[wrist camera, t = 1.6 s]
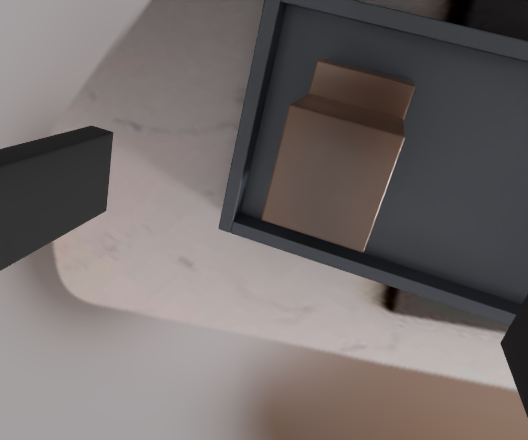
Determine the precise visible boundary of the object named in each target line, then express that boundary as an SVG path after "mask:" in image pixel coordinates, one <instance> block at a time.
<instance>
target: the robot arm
mask: <svg viewBox="0 0 528 440" xmlns="http://www.w3.org/2000/svg"><path fill="white" fill-rule="evenodd" d="M112 140H113V132H111V131H107V130H104V129H101V128H98V127H94V126H89V127H85V128H81V129H77V130H73V131H69V132H65V133H61V134H57V135H54V136H50V137H46V138H42V139H38V140H34V141H31V142H26V143H23V144H19V145H15V146H11V147H7V148H3V149H0V270H2V269H4V268H6V267H8V266H10V265H11V264H13V263H15V262H16V261H18V260H20V259H22V258H24V257H25V256H27V255H29V254H31V253H32V252H34V251H36V250H38V249H39V248H41V247H43V246H44V245H47V244H48V243H50V242H52V241H54V240H55V239H57V238H59V237H61V236H62V235H64V234H66V233H68V232H69V231H71V230H73V229H75V228H77V227H78V226H80V225H82V224H84V223H85V222H87V221H89V220H91V219H92V218H94V217H96V216H98V215H99V214H101V213H103V212H105V211H106V207H107V196H108V184H109V173H110V162H111V151H112ZM501 346H502V349H503V351H504V354H505V357H506V360H507V362H508V365H509V368H510V370H511V373H512V376H513V379H514V381H515V384H516V387H517V390H518V392H519V395H520V398H521V400H522V403H523V406H524V408H525V411H526V414H527V417H528V294H527V296H526V298H525V300H524V301H523V303H522V305H521V307H520V309H519V311H518V312H517V314H516V316H515V318H514V320H513V321H512V323H511V325H510V327H509V329H508V331H507V332H506V334H505V336H504V338H503V340H502V341H501Z"/></svg>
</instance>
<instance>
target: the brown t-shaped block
mask: <svg viewBox="0 0 528 440" xmlns="http://www.w3.org/2000/svg"><path fill="white" fill-rule="evenodd" d="M414 90H415V84H414V82H413V80H411V79H407V78H403V77H400V76H396V75H392V74H388V73H384V72H380V71H376V70H373V69H369V68H365V67H361V66H357V65H353V64H349V63H345V62H342V61H338V60H334V59H330V58H328V59H323V60H318V61H317V63H316V67H315V71H314V75H313V78H312V82H311V86H310V90H309V94H308V95H306V96H304V97H303V98H301V99H299V100H297V101H295V102H294V103H292V104H290V105H289V108H288V112H287V116H286V120H285V124H284V128H283V132H282V136H281V140H280V145H279V149H278V153H277V157H276V161H275V165H274V169H273V173H272V177H271V181H270V185H269V190H268V194H267V198H266V202H265V206H264V210H263V214H262V220H264V221H267V222H270V223H273V224H276V225H279V226H282V227H285V228H288V229H291V230H294V231H297V232H300V233H304V234H307V235H310V236H313V237H316V238H319V239H322V240H325V241H328V242H331V243H334V244H337V245H341V246H344V247H347V248H350V249H353V250H356V251H359V252H364V251H365V248H366V245H367V243H368V240H369V237H370V234H371V231H372V229H373V226H374V223H375V220H376V218H377V215H378V212H379V209H380V207H381V204H382V201H383V198H384V195H385V193H386V190H387V187H388V184H389V182H390V179H391V176H392V173H393V171H394V168H395V165H396V162H397V159H398V157H399V154H400V151H401V148H402V146H403V143H404V140H405V132H404V118H405V115H406V113H407V110H408V107H409V104H410V101H411V98H412V96H413V93H414Z"/></svg>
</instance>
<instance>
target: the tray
mask: <svg viewBox="0 0 528 440" xmlns="http://www.w3.org/2000/svg"><path fill="white" fill-rule="evenodd" d="M328 58H330V59H334V60H338V61H342V62H345V63H349V64H353V65H357V66H361V67H365V68H369V69H373V70H376V71H380V72H384V73H388V74H392V75H396V76H400V77H403V78H407V79H411V80H413V82H414V84H415V90H414V93H413V96H412V98H411V101H410V104H409V107H408V110H407V113H406V115H405V118H404V132H405V140H404V143H403V146H402V148H401V151H400V154H399V157H398V159H397V162H396V165H395V168H394V171H393V173H392V176H391V179H390V182H389V184H388V187H387V190H386V193H385V195H384V198H383V201H382V204H381V207H380V209H379V212H378V215H377V218H376V220H375V223H374V226H373V229H372V231H371V234H370V237H369V240H368V243H367V245H366V248H365V251H364V252H359V251H356V250H353V249H350V248H347V247H344V246H341V245H337V244H334V243H331V242H328V241H325V240H322V239H319V238H316V237H313V236H310V235H307V234H304V233H300V232H297V231H294V230H291V229H288V228H285V227H282V226H279V225H276V224H273V223H270V222H267V221H264V220H262V214H263V210H264V206H265V202H266V198H267V194H268V190H269V185H270V181H271V177H272V173H273V169H274V165H275V161H276V157H277V153H278V149H279V145H280V140H281V136H282V132H283V128H284V124H285V120H286V116H287V112H288V108H289V105H290V104H292V103H294V102H295V101H297V100H299V99H301V98H303V97H304V96H306V95H308V94H309V90H310V86H311V82H312V78H313V75H314V71H315V67H316V63H317V61H318V60H323V59H328ZM219 229H221V230H224V231H227V232H231V233H232V234H235V235H238V236H241V237H244V238H247V239H250V240H253V241H256V242H259V243H262V244H265V245H268V246H271V247H274V248H277V249H280V250H283V251H286V252H289V253H292V254H295V255H298V256H301V257H304V258H307V259H310V260H313V261H316V262H319V263H322V264H325V265H328V266H331V267H334V268H337V269H340V270H343V271H346V272H349V273H352V274H355V275H358V276H361V277H364V278H367V279H370V280H373V281H376V282H379V283H382V284H385V285H388V286H391V287H394V288H397V289H400V290H403V291H406V292H409V293H412V294H415V295H418V296H421V297H424V298H427V299H430V300H433V301H436V302H439V303H442V304H445V305H448V306H451V307H454V308H457V309H460V310H463V311H466V312H469V313H472V314H475V315H478V316H481V317H484V318H487V319H490V320H493V321H496V322H499V323H502V324H505V325H508V326H510V325H511V323H512V321H513V320H514V318H515V316H516V314H517V312H518V311H519V309H520V307H521V305H522V303H523V301H524V300H525V298H526V296H527V294H528V41H525V40H521V39H517V38H513V37H508V36H504V35H500V34H496V33H491V32H487V31H483V30H479V29H474V28H470V27H466V26H462V25H457V24H453V23H449V22H445V21H440V20H436V19H432V18H428V17H423V16H419V15H415V14H411V13H407V12H402V11H398V10H394V9H390V8H385V7H381V6H377V5H373V4H368V3H364V2H360V1H356V0H265V2H264V7H263V12H262V17H261V22H260V27H259V31H258V36H257V41H256V46H255V51H254V56H253V61H252V66H251V71H250V76H249V81H248V86H247V91H246V95H245V100H244V105H243V110H242V115H241V120H240V125H239V130H238V135H237V140H236V145H235V150H234V155H233V159H232V164H231V169H230V174H229V179H228V184H227V189H226V194H225V199H224V204H223V209H222V214H221V219H220V224H219Z"/></svg>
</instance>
